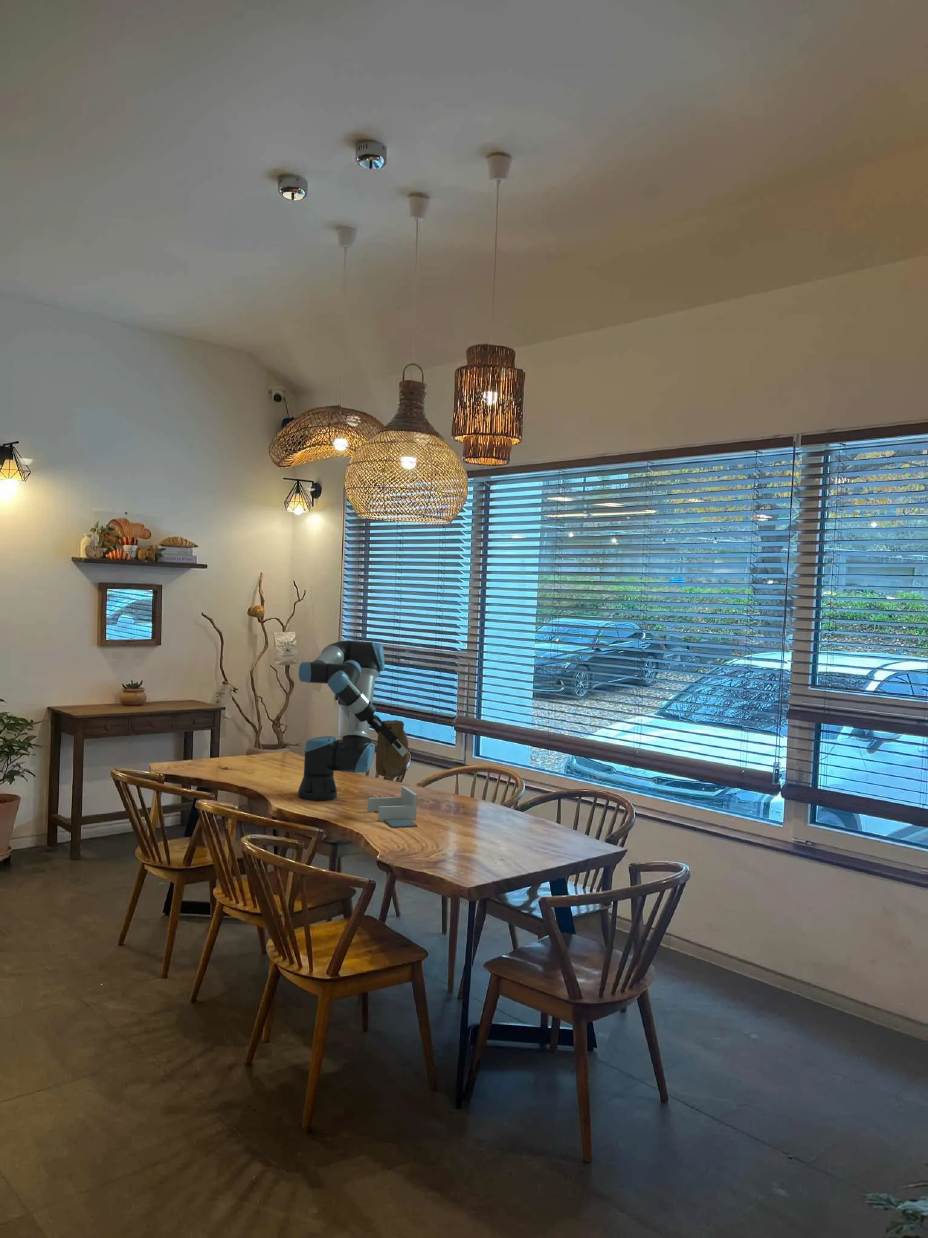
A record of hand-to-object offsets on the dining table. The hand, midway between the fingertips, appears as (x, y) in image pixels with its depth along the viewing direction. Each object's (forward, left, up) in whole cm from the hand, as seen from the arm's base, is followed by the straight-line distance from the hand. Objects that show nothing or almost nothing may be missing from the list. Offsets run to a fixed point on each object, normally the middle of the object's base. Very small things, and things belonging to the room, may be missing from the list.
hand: (401, 751), depth 325 cm
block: (0, -3, -9) cm, 10 cm away
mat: (+12, -3, -24) cm, 27 cm away
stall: (0, -3, -24) cm, 24 cm away
